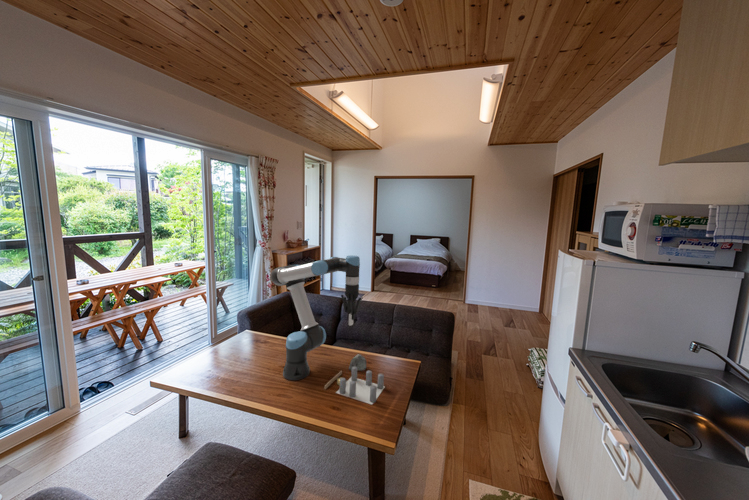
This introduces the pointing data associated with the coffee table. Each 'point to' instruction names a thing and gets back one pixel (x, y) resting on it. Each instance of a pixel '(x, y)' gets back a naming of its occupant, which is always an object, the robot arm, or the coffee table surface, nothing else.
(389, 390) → the coffee table surface
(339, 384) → the brass dome
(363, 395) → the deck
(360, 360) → the stone
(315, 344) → the robot arm
